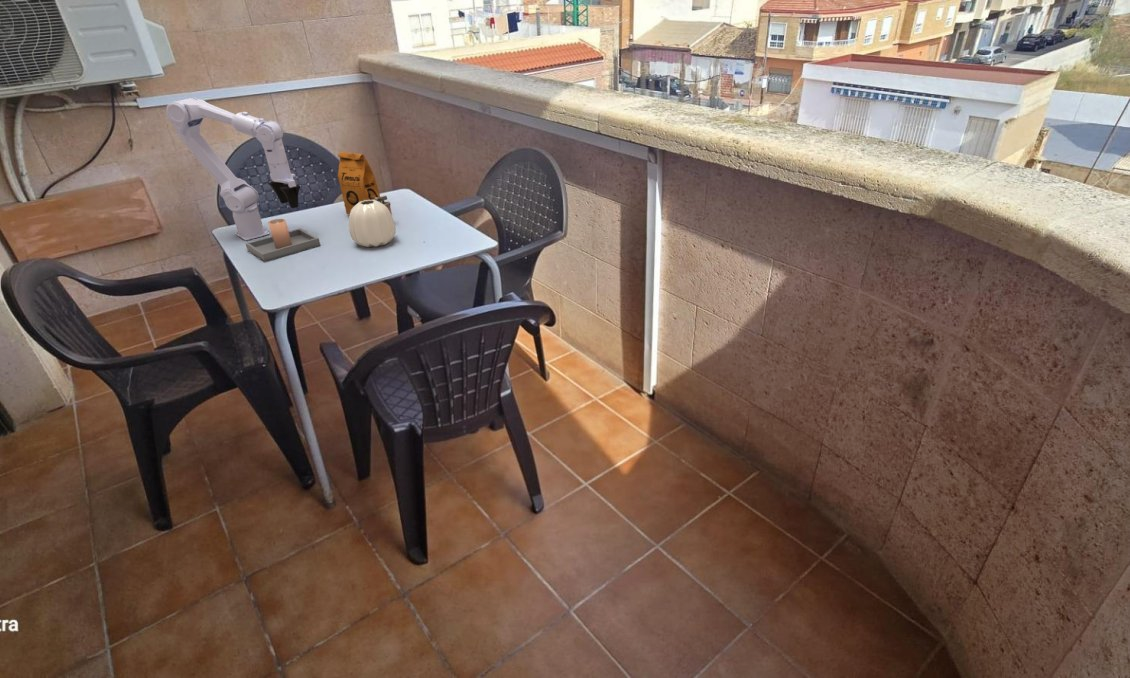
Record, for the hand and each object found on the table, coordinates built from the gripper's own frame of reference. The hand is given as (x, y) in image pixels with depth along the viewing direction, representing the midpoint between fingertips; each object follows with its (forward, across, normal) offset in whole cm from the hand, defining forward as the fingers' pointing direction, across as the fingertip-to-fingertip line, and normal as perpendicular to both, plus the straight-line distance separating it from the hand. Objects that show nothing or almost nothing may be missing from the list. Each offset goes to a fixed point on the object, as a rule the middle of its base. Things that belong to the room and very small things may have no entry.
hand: (289, 205), depth 187 cm
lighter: (+11, -14, -24) cm, 30 cm away
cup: (+10, -8, +8) cm, 15 cm away
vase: (+11, -26, -14) cm, 31 cm away
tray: (+10, -8, +8) cm, 15 cm away
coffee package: (+11, +2, -26) cm, 28 cm away
